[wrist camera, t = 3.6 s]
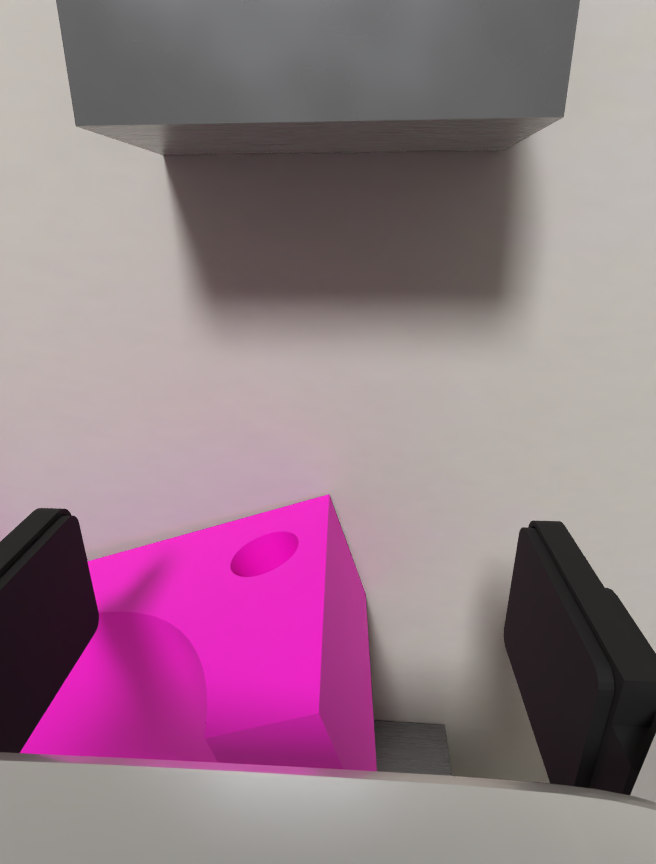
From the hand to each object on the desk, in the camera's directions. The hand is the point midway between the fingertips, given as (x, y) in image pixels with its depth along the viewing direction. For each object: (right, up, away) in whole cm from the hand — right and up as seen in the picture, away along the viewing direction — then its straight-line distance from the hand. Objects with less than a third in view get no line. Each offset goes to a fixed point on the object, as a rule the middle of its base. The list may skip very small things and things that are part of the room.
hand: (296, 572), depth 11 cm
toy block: (-5, -4, +7) cm, 9 cm away
